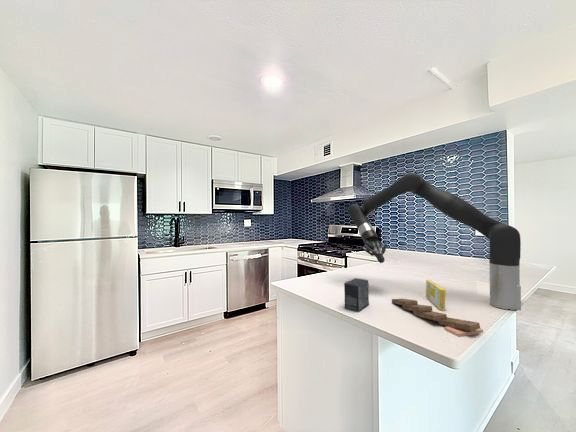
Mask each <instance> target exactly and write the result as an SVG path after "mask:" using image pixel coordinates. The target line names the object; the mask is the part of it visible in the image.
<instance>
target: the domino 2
mask: <svg viewBox="0 0 576 432" xmlns="http://www.w3.org/2000/svg"><path fill="white" fill-rule="evenodd" d="M401 308H402V310H404V311H406V310H407V311H412V312H413V311H418V312H425V311H434V310H433V306H432V305H424V304H418V305H408V306H406V305H401Z"/></svg>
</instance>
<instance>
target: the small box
mask: <svg viewBox="0 0 576 432" xmlns="http://www.w3.org/2000/svg"><path fill="white" fill-rule="evenodd" d="M343 284H344V287H343V288H344V290H343V291H344V309H345V310H350V311H353V312H357V313H360V312H361V311H363V310H364V309H365V308H366V307H368V306H369V305H370V299H369V296H370V295H369V279H366V278H365V279H364V278H357V277H356V278H355V277H354V278H353V279H351V280H349V281H346V282H344V283H343Z"/></svg>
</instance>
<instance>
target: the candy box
mask: <svg viewBox="0 0 576 432" xmlns="http://www.w3.org/2000/svg"><path fill="white" fill-rule="evenodd" d="M425 298H426V299H427V300H428V301H429V302H430V303H432V304H433V305H434V306H435V307H436V308H437V309H438V310H439V311H445V310H446V309H445V308H446V289H445V288H443V287H441V285H439V284H436V283H435V282H433V281H432V280H430V279H425Z"/></svg>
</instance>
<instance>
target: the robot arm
mask: <svg viewBox="0 0 576 432" xmlns="http://www.w3.org/2000/svg"><path fill="white" fill-rule="evenodd" d="M405 193H412V194H414V195H416V196H418V197H421V198H422V199H424V200H426V201H427V202H428V203H429V204H430V205H431V206H433V208H435V209H437V211H440V213H442V214H444V215H445V216H448V217H449V218H451V219H453V220H454V221H456V222H458V223H461V224H463V225H465V226H467V227H470V228H472V229H474V230H475V231H477V232H478V233H480V234H481V235H482V236H483V237H485V238H487V240H489V265H488V266H489V305H491V306H493V307H496V308H498V309H503V310H508V309H510V310H509V311H522V297H521V296H522V286H521V283H520V281H521V280H520V277H521V275H520V273H521V272H520V271H521V270H520V269H521V268H520V265H521V264H520V263H521V249H522V248H521V246H522V245H521V243H522V242H521V234H520V231H519V230H518V229H517V228H515V227H513V226H512V225H509V224H506V223H503V222H501V221H498V220H496V219H494V218H492V217H490V216H489V215H486V214H485V213H483V212H482V211H481V210H479V209H478V208H477V207H476V206H474V205H472V204H471V203H470V202H468V201H467V200H465V199H462V198H461V197H459V196H458V195H456V194H453V193H452V192H449V191H446V190H444V189H442V188H439V187H436V186H435V185H433V184H432V183H430V182H429V181H427V180H426V179H425V178H423V177H422V176H421V175H419V174H418V173H417V172H416V173H415V172H407V173H405V174H404V175H403V176H401V177H400V178H399V179H396V181H395V182H393V183H392V184H390V185H388V186H387V187H386V188H384V189H382V190H381V191H378V192H377V193H375V194H373V195H372V196H370V197H367V198H366V199H365V200H363V202H362V203H363V206H360V205H359V204H357V203H351V204H349V205H348V207H347V214H348V216H349V217H350V218H351V220H352V222H354V224H355V226H356V228H357V230H358V234H359V236H360V237H361V239H362V241H363V244H364V245H363V247H362V250H364V252H366V253H368V254H369V255H370V256H371V257H373V256H374V257H375V259H377V261H378V262H379V263H380V264H383V263H384V262H385V257H384V254H386V250H387V244H382V242H381V241H380V239H379V235H378V234H377V232H376V230H375V229H374V227H373V226H372V224H371V222H370V221H369V219H368V217H367V216H368V215H369V214H371V212H373V211H375V210H377V209H378V208H380V207H382V206H384V205H385V204H387V203H388V202H390V201H391V200H392V199H395V198H396V197H398V196H400V195H402V194H405Z"/></svg>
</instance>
